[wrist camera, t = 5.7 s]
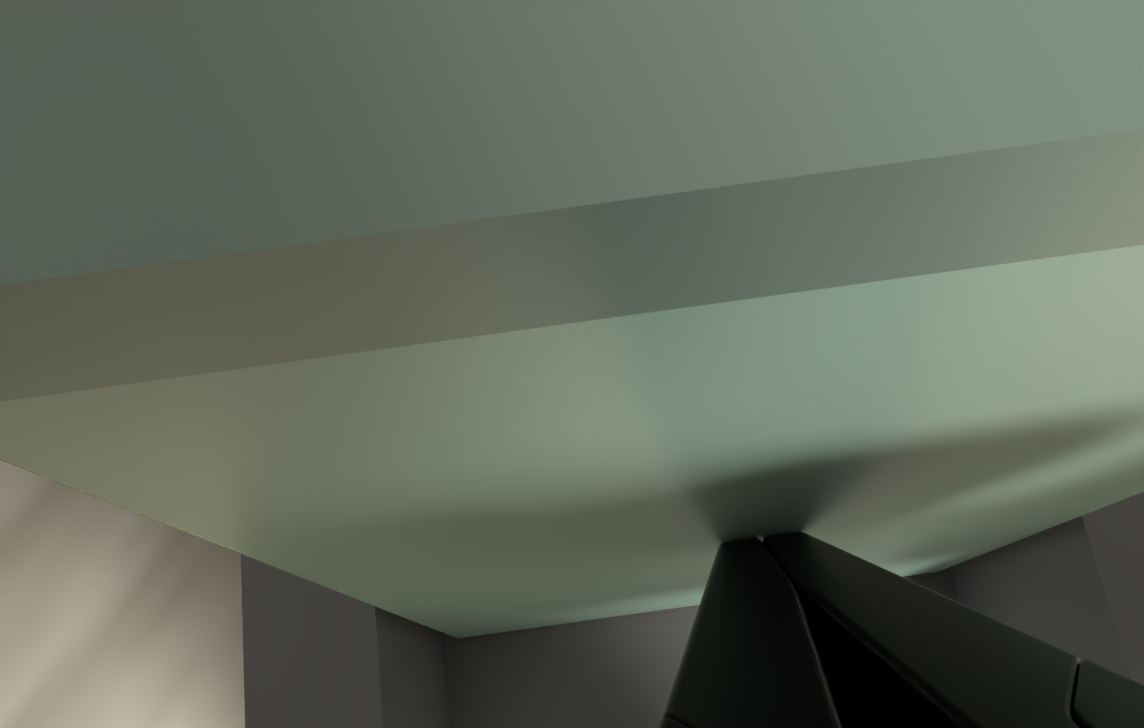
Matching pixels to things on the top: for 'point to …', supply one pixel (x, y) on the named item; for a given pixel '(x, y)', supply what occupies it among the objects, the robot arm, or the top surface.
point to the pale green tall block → (574, 283)
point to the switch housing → (634, 641)
